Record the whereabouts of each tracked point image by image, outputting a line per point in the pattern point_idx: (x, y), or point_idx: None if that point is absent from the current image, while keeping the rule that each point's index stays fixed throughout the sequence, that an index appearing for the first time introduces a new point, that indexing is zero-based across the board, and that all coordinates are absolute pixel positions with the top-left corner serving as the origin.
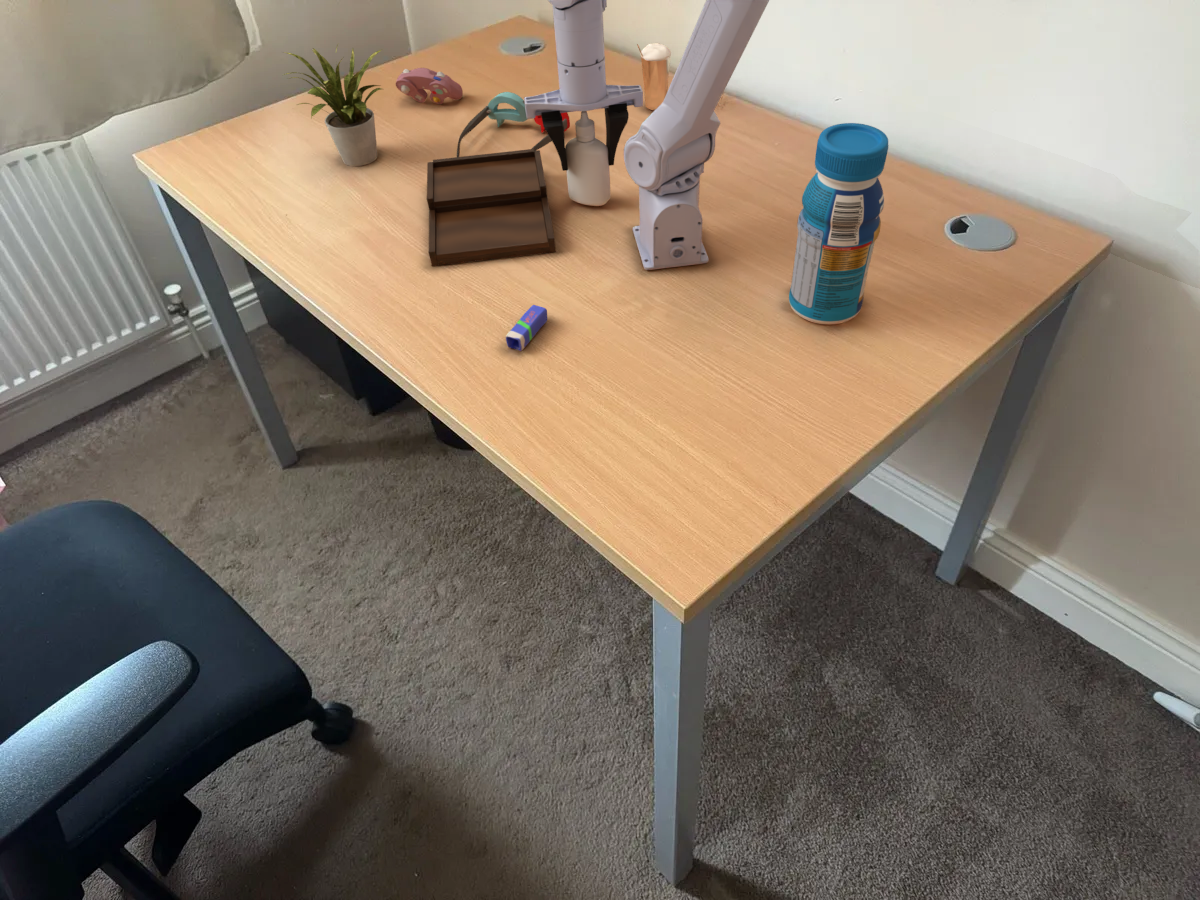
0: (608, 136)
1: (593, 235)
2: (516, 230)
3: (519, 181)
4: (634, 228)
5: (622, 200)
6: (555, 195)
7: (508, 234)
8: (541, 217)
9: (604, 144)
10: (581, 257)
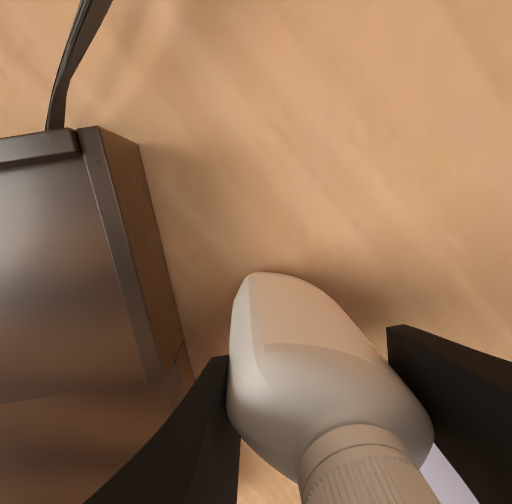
0: (484, 468)
1: None
2: None
3: (71, 331)
4: None
5: (366, 294)
6: (193, 263)
7: None
8: None
9: (431, 443)
10: (271, 495)
